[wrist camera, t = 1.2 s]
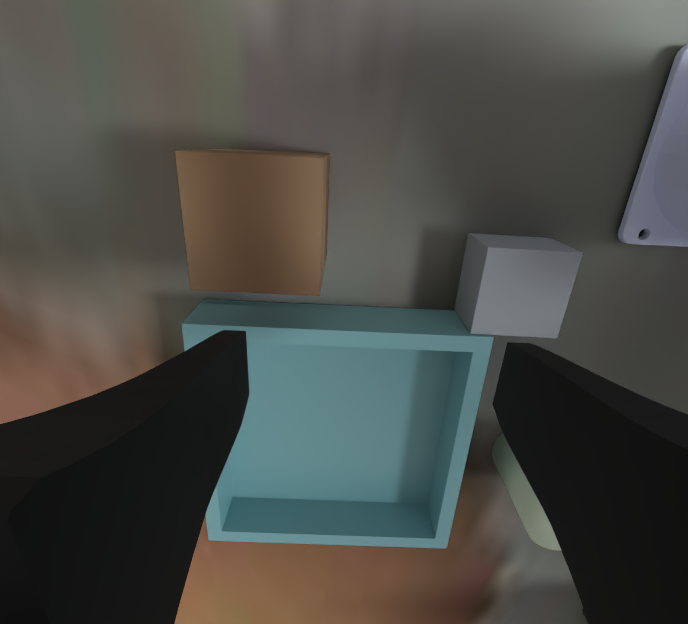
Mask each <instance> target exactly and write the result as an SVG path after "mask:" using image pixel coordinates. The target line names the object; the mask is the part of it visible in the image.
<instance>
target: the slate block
mask: <svg viewBox="0 0 688 624" xmlns="http://www.w3.org/2000/svg"><path fill="white" fill-rule="evenodd" d="M582 256H583V252H580V251H578V250H576V249H574V248H571V247H569V246H567V245H565V244H563V243H560V242H558V241H556V240H554V239H552V238H543V237H526V236H510V235H493V234H476V233H468V237H467V243H466V248H465V254H464V259H463V264H462V270H461V275H460V281H459V286H458V292H457V297H456V302H455V308H454V310H455V311H456V313H457V314H458V316H459V317H460V319H461V320H462V322H463V323H464V325H465V326H466V328H467V329H468V331H469V332H470V334H484V335H503V336H522V337H541V338H557V337H558V334H559V331H560V328H561V324H562V321H563V318H564V314H565V311H566V308H567V305H568V301H569V298H570V295H571V292H572V288H573V285H574V282H575V278H576V275H577V272H578V269H579V265H580V262H581V259H582Z"/></svg>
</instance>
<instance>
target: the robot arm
mask: <svg viewBox="0 0 688 624" xmlns="http://www.w3.org/2000/svg"><path fill="white" fill-rule="evenodd" d="M643 229H644V234H643V235H642V236H641V237H638V235H639V233H640V231H641V230H643ZM618 238H619V240H620V241H621V242H624V243H627V244H638V245H658V246H679V247H688V45H686V46H684V47H682V48H681V49H680V50H679V51H678V52H677V55H676V57H675V59H674V62H673V65H672V68H671V71H670V74H669V77H668V80H667V83H666V87H665V90H664V93H663V96H662V99H661V102H660V105H659V108H658V111H657V114H656V117H655V120H654V123H653V127H652V130H651V133H650V136H649V139H648V142H647V145H646V148H645V151H644V154H643V157H642V160H641V163H640V166H639V170H638V173H637V176H636V179H635V182H634V185H633V188H632V191H631V194H630V197H629V200H628V203H627V206H626V210H625V213H624V216H623V219H622V222H621V225H620V228H619V231H618ZM248 398H249V376H248V359H247V341H246V331H236V330H222V331H220V332H218V333H216V334H214V335H212V336H210V337H209V338H207V339H205V340H203V341H202V342H200V343H198V344H196V345H195V346H193V347H191V348H190V349H188V350H186V351H184V352H183V353H181V354H179V355H177V356H176V357H174V358H172V359H170V360H168V361H166V362H164V363H162V364H160V365H159V366H157V367H155V368H153V369H151V370H149V371H147V372H145V373H143V374H141V375H139V376H137V377H135V378H133V379H131V380H128V381H126V382H124V383H122V384H119V385H117V386H114V387H112V388H110V389H107V390H105V391H102V392H100V393H97V394H95V395H92V396H90V397H87V398H84V399H81V400H78V401H75V402H72V403H69V404H66V405H63V406H60V407H57V408H54V409H51V410H48V411H45V412H42V413H39V414H36V415H32V416H29V417H25V418H22V419H18V420H15V421H11V422H7V423H3V424H0V624H174V622H175V619H176V615H177V611H178V607H179V603H180V600H181V596H182V593H183V589H184V585H185V582H186V578H187V575H188V571H189V568H190V564H191V561H192V557H193V554H194V550H195V547H196V544H197V540H198V537H199V534H200V530H201V527H202V524H203V520H204V517H205V514H206V511H207V508H208V506H209V503H210V500H211V497H212V495H213V493H214V490H215V488H216V485H217V483H218V481H219V478H220V476H221V473H222V471H223V469H224V466H225V464H226V461H227V459H228V457H229V454H230V452H231V449H232V447H233V445H234V442H235V440H236V437H237V435H238V432H239V430H240V427H241V425H242V421H243V417H244V414H245V410H246V406H247V402H248ZM493 406H494V409H495V412H496V415H497V418H498V421H499V424H500V426H501V429H502V432H503V434H504V437H505V439H506V441H507V442H508V444H509V446H510V448H511V450H512V452H513V454H514V456H515V458H516V460H517V462H518V463H519V465H520V467H521V469H522V471H523V473H524V474H525V476H526V478H527V480H528V482H529V484H530V486H531V487H532V489H533V491H534V493H535V495H536V497H537V499H538V500H539V502H540V504H541V506H542V508H543V510H544V512H545V514H546V516H547V518H548V520H549V522H550V524H551V526H552V529H553V531H554V533H555V536H556V538H557V541H558V543H559V546H560V548H561V550H562V553H563V555H564V558H565V560H566V563H567V565H568V567H569V570H570V573H571V575H572V578H573V581H574V583H575V586H576V588H577V591H578V594H579V596H580V599H581V602H582V604H583V607H584V610H585V612H586V615H587V618H588V621H589V624H688V415H687V414H685V413H682V412H679V411H677V410H674V409H672V408H669V407H667V406H664V405H662V404H659V403H657V402H655V401H652V400H650V399H648V398H645V397H643V396H641V395H639V394H637V393H634V392H632V391H630V390H628V389H626V388H623V387H621V386H619V385H617V384H615V383H613V382H611V381H609V380H607V379H605V378H603V377H600V376H598V375H596V374H594V373H592V372H590V371H588V370H586V369H584V368H582V367H580V366H578V365H576V364H574V363H572V362H570V361H568V360H566V359H564V358H562V357H560V356H558V355H556V354H554V353H552V352H550V351H548V350H546V349H543V348H541V347H538V346H536V345H533V344H530V343H509V342H507V347H506V351H505V355H504V359H503V363H502V367H501V372H500V376H499V380H498V384H497V388H496V392H495V396H494V401H493Z"/></svg>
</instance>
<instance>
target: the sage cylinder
mask: <svg viewBox="0 0 688 624" xmlns="http://www.w3.org/2000/svg"><path fill="white" fill-rule="evenodd" d="M492 459H493V461H494V463H495V466H496V468H497V470H498V472H499V474H500V476H501V478H502V480H503V483H504V485H505V487H506V489H507V491H508V493H509V495H510V497H511V500H512V502H513V504H514V506H515V508H516V510H517V512H518V514H519V517H520V519H521V521H522V523H523V525H524V527H525V529H526V531H527V534H528V535H529V537H530V539H531V540H532V541H533V542H534V543H536V544H537V545H539V546H541V547H543V548H546V549H550V550H558V551H562V550H561V548H560V546H559V543H558V541H557V538H556V536H555V533H554V531H553V529H552V526H551V524H550V522H549V520H548V518H547V516H546V514H545V512H544V510H543V508H542V506H541V504H540V502H539V500H538V499H537V497H536V495H535V493H534V491H533V489H532V487H531V486H530V484H529V482H528V480H527V478H526V476H525V474H524V473H523V471H522V469H521V467H520V465H519V463H518V462H517V460H516V458H515V456H514V454H513V452H512V450H511V448H510V446H509V444H508V442H507V441H506V439H505V437H504V434H503V432H502V433H501V434H500V435H499V436H498V437H497V439H496V440H495V442H494V444H493V447H492Z"/></svg>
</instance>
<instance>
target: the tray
mask: <svg viewBox="0 0 688 624" xmlns="http://www.w3.org/2000/svg"><path fill="white" fill-rule="evenodd" d="M181 326H182V334H183V342H184V350H185V351H186V350H188V349H190V348H191V347H193V346H195V345H196V344H198V343H200V342H202V341H203V340H205V339H207V338H209V337H210V336H212V335H214V334H216V333H218V332H220V331H222V330H236V331H246V341H247V359H248V376H249V398H248V402H247V406H246V410H245V414H244V417H243V421H242V425H241V427H240V430H239V432H238V435H237V437H236V440H235V442H234V445H233V447H232V449H231V452H230V454H229V457H228V459H227V461H226V464H225V466H224V469H223V471H222V473H221V476H220V478H219V481H218V483H217V485H216V488H215V490H214V493H213V495H212V497H211V500H210V503H209V506H208V508H207V511H206V522H207V530H208V538H209V541H239V542H268V543H298V544H328V545H357V546H387V547H416V548H446V549H447V545H448V540H449V536H450V531H451V527H452V522H453V518H454V513H455V509H456V505H457V500H458V496H459V491H460V487H461V482H462V478H463V473H464V469H465V464H466V460H467V455H468V451H469V446H470V442H471V437H472V433H473V429H474V424H475V420H476V415H477V411H478V406H479V402H480V397H481V393H482V388H483V384H484V379H485V375H486V370H487V366H488V361H489V357H490V353H491V348H492V344H493V339H494V337H493V336H492V335H484V334H470V332H469V331H468V329H467V328H466V326H465V325H464V323H463V322H462V320H461V319H460V317H459V316H458V314H457V313H456V311H455V310H434V309H412V308H390V307H368V306H346V305H323V304H301V303H279V302H257V301H235V300H213V299H203V300H202V301H201V302H200V304H199V305H198V306H197V307H196V308H195V309H194V310H193V311H192V312H191V313H190V315H189V316H188V317H187V318H186V319H185V320H184V321H183V322H182V323H181Z"/></svg>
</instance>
